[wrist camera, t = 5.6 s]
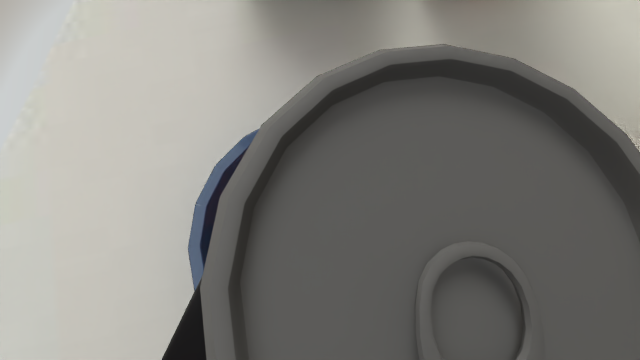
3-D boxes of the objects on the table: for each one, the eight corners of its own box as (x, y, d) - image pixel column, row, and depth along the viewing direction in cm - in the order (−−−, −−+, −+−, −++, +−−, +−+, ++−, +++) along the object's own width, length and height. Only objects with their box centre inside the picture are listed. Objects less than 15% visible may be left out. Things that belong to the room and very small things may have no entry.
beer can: (266, 303, 13) (69, 862, 2) (268, 181, 15) (169, -20, 3) (386, 296, 14) (872, 644, 2) (378, 180, 15) (664, 20, 4)
